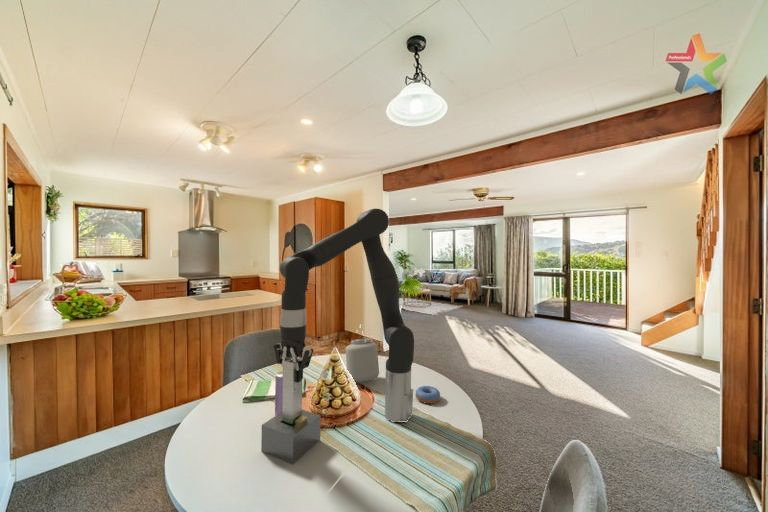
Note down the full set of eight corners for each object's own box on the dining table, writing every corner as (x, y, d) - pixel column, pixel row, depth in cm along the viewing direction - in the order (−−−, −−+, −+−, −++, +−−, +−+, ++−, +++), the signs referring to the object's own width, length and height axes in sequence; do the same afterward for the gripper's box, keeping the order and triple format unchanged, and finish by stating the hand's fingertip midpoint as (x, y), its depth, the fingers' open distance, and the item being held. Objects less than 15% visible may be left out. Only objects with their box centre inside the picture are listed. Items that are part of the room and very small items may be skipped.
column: (301, 417, 90) (302, 358, 90) (292, 424, 86) (293, 363, 86) (291, 414, 91) (292, 356, 91) (282, 420, 88) (283, 360, 88)
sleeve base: (320, 440, 92) (320, 411, 91) (292, 465, 81) (293, 432, 81) (290, 430, 97) (291, 402, 97) (261, 452, 86) (261, 420, 86)
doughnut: (445, 402, 116) (444, 390, 117) (421, 407, 113) (420, 395, 114) (433, 393, 126) (433, 382, 126) (412, 397, 123) (411, 386, 123)
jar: (338, 374, 142) (339, 323, 142) (366, 369, 150) (366, 320, 149) (355, 390, 126) (356, 332, 126) (384, 383, 133) (385, 328, 133)
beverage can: (286, 420, 102) (287, 377, 102) (271, 418, 104) (272, 375, 104) (295, 411, 108) (296, 370, 108) (280, 409, 110) (281, 369, 109)
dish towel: (304, 398, 119) (304, 391, 119) (241, 404, 114) (241, 397, 114) (304, 380, 137) (304, 374, 137) (250, 384, 131) (250, 378, 131)
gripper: (320, 323, 89) (319, 380, 89) (284, 318, 95) (284, 371, 95) (303, 328, 82) (302, 390, 82) (266, 323, 88) (265, 380, 88)
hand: (292, 379), depth 89 cm, fingers closed on column, 4 cm apart
